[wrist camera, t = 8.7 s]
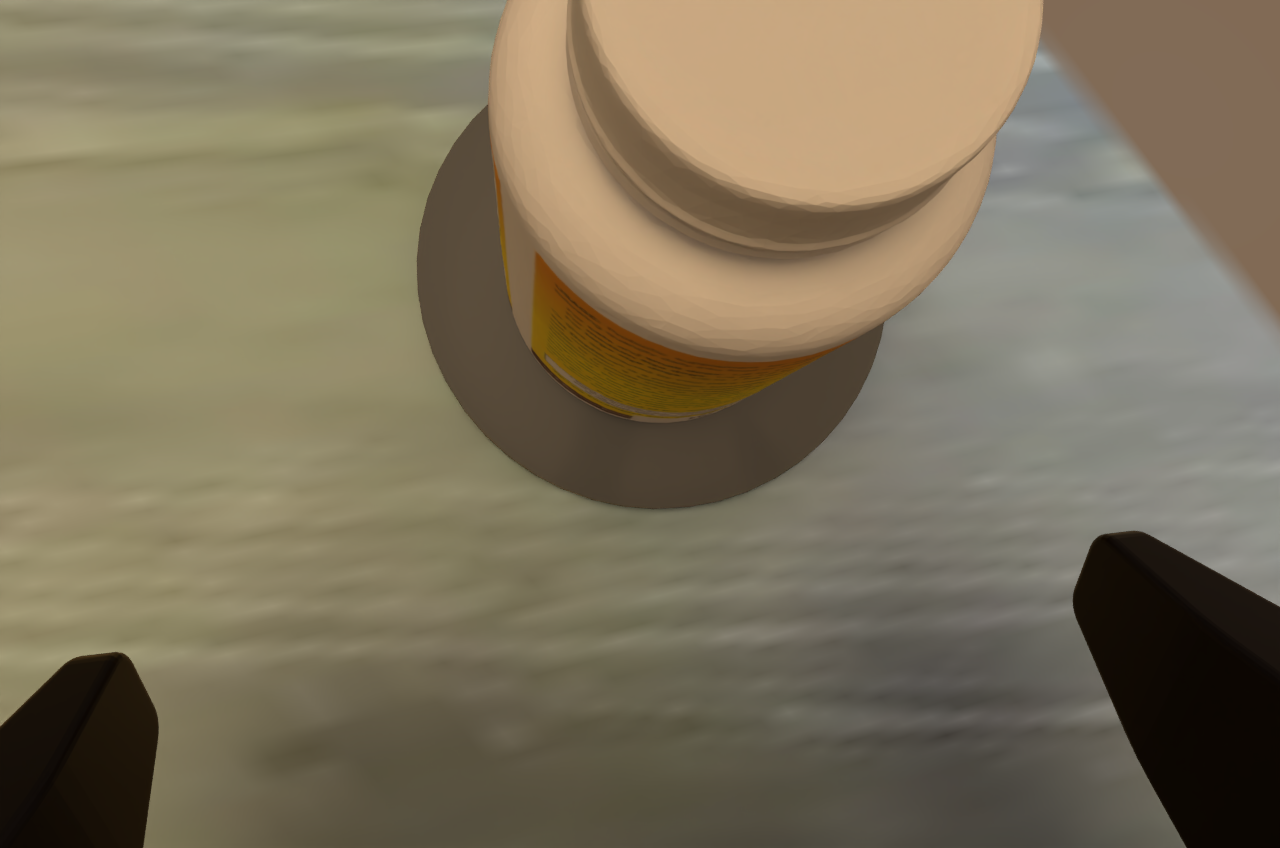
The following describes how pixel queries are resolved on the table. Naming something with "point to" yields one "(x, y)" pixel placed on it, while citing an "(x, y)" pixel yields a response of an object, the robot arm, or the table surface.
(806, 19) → the supplement bottle
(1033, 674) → the table surface
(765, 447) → the slate coaster
